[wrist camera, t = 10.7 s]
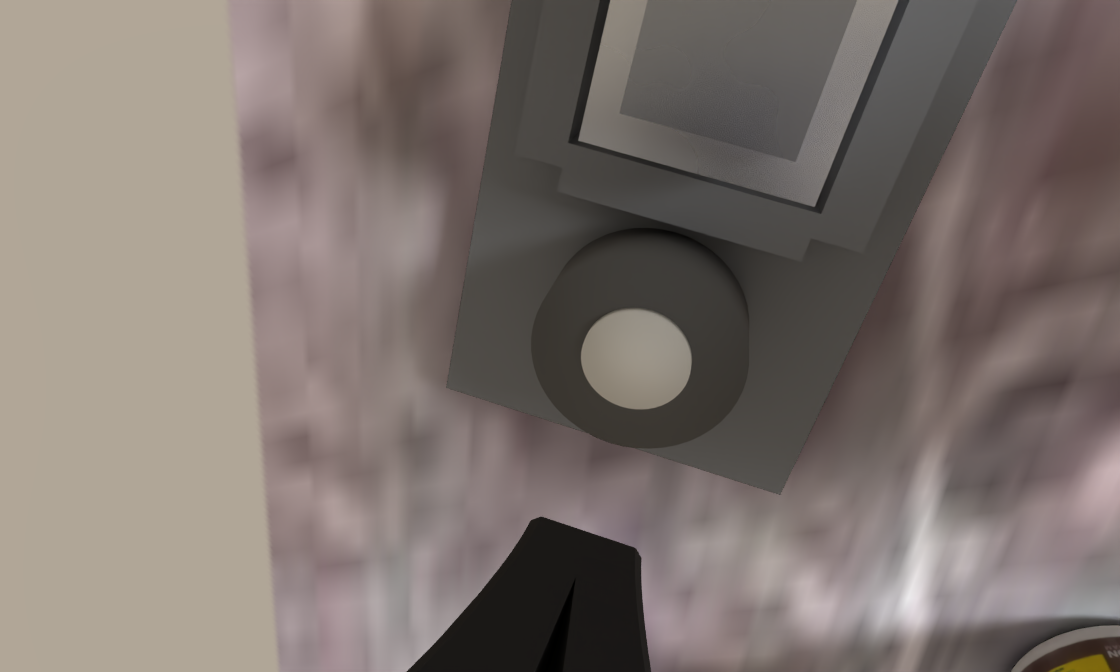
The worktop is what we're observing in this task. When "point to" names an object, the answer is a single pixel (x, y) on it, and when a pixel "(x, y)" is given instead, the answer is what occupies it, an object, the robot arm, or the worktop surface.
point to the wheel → (643, 339)
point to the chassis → (709, 219)
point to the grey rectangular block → (734, 86)
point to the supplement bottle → (1076, 652)
